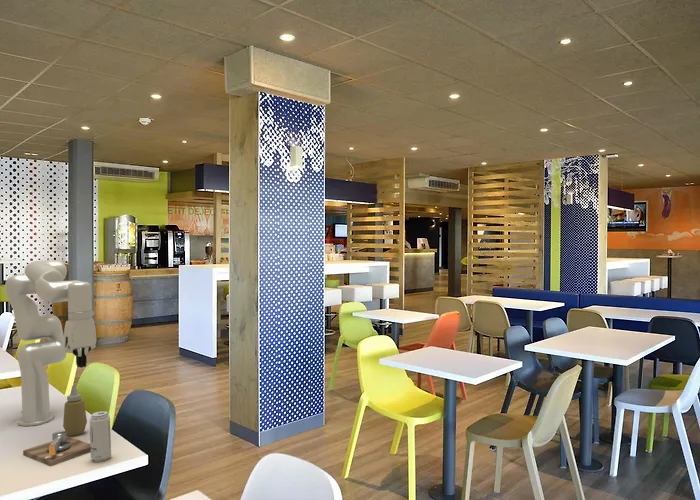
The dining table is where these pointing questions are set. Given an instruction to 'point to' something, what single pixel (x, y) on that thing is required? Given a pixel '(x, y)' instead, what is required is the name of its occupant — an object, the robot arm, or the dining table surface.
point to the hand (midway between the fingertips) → (81, 366)
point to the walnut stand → (72, 452)
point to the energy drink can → (100, 436)
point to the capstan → (58, 443)
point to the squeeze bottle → (74, 414)
